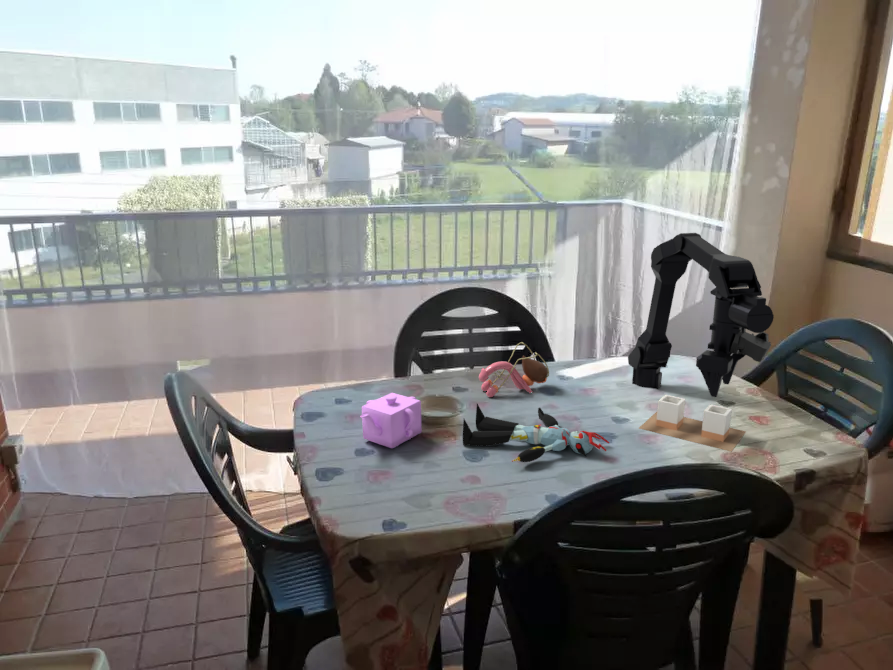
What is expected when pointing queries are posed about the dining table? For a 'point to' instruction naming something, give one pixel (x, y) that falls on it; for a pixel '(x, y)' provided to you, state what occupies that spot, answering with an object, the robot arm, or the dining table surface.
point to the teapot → (391, 419)
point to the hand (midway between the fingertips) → (720, 390)
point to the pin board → (694, 433)
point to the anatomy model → (515, 373)
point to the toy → (528, 436)
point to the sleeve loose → (716, 422)
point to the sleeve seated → (670, 412)
